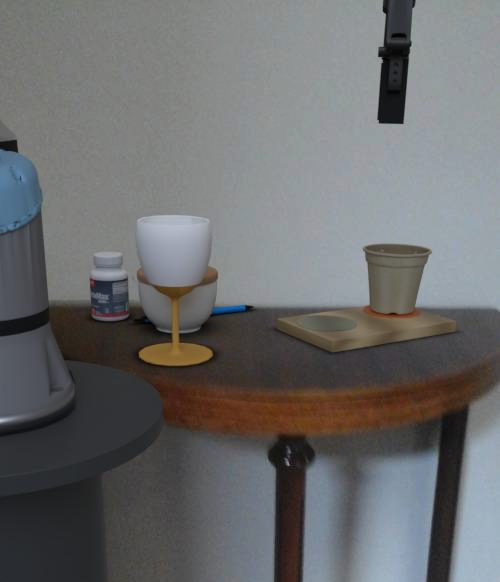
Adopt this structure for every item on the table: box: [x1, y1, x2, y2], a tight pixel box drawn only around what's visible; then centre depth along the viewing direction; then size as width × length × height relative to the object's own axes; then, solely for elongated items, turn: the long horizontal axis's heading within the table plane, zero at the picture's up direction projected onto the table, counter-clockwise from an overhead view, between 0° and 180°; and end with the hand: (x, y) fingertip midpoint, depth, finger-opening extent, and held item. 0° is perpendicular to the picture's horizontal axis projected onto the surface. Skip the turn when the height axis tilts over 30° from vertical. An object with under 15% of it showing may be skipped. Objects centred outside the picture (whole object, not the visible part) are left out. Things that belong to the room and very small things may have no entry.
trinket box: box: [136, 265, 219, 334], centre depth 111 cm, size 11×11×9 cm
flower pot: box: [362, 242, 433, 315], centre depth 116 cm, size 9×9×9 cm
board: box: [276, 305, 457, 354], centre depth 113 cm, size 21×13×2 cm, turn 121°
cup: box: [135, 214, 214, 367], centre depth 98 cm, size 9×9×16 cm
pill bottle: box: [89, 251, 130, 322], centre depth 116 cm, size 5×5×9 cm
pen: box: [132, 304, 255, 324], centre depth 118 cm, size 1×19×1 cm
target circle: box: [363, 304, 420, 318], centre depth 117 cm, size 8×8×1 cm
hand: (389, 122), depth 97 cm, fingers open, 13 cm apart
